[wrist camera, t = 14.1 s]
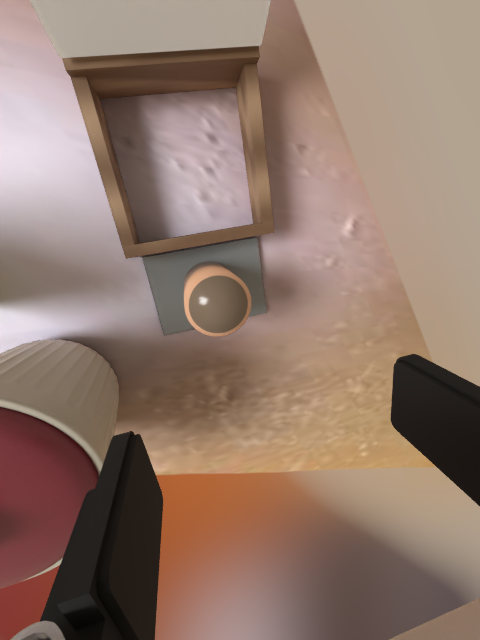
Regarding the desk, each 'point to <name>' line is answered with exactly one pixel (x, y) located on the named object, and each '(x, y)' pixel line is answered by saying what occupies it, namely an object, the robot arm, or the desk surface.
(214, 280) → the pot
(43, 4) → the lid
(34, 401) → the canister
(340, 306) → the desk surface
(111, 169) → the frame
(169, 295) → the mat
